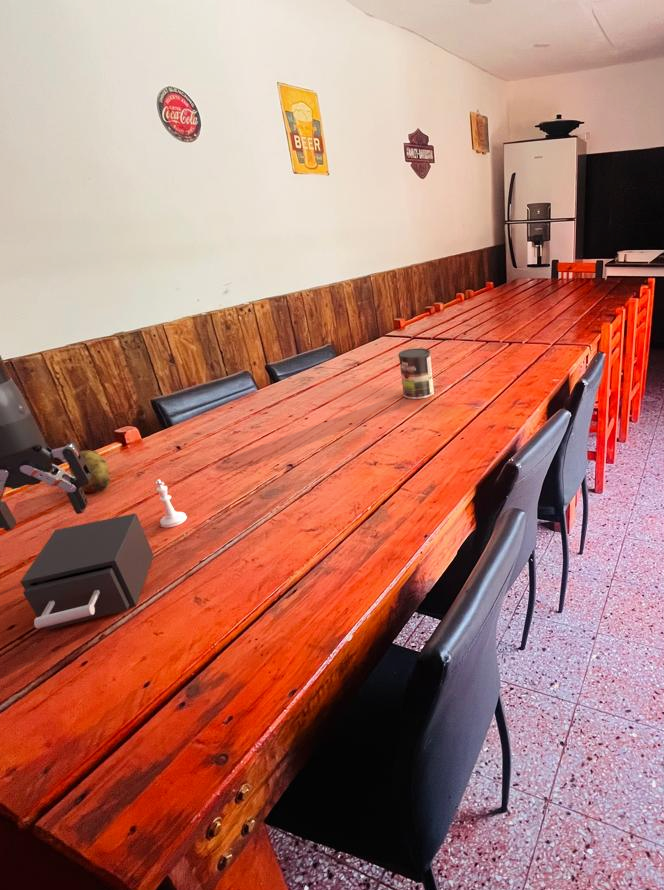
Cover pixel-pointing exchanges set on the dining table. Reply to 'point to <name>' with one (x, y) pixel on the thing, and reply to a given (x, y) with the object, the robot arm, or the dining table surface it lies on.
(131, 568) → the small drawer cabinet
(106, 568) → the dark grey drawer
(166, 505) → the chess piece
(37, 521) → the dining table surface
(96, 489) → the potato
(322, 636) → the dining table surface
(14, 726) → the dining table surface
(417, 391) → the coffee can
